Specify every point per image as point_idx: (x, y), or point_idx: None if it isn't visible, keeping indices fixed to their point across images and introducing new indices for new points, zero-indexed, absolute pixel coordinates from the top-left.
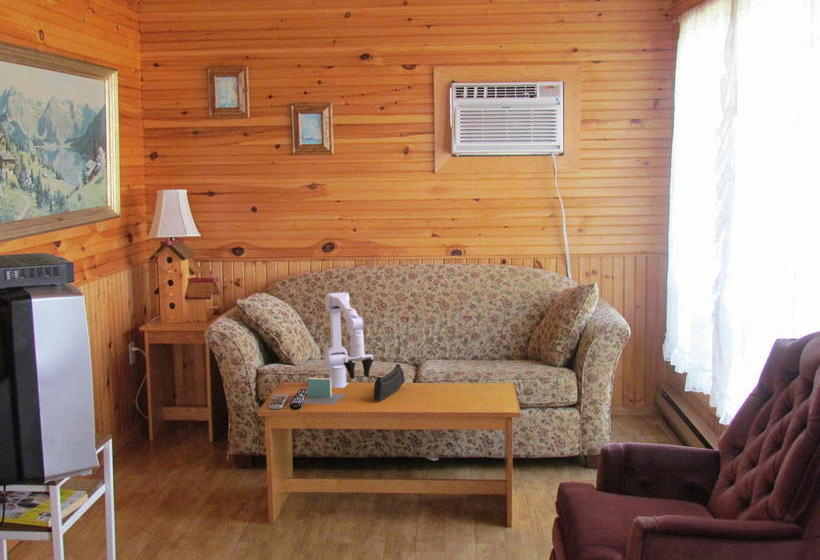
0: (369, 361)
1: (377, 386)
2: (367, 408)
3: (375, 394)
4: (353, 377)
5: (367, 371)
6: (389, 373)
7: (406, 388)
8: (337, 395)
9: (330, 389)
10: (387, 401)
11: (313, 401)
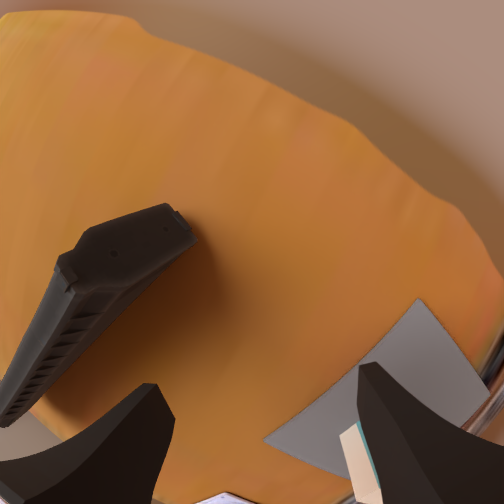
0: (26, 494)
1: (128, 249)
2: (301, 129)
3: (172, 239)
4: (376, 366)
5: (129, 421)
6: (13, 390)
7: None
8: (309, 438)
9: (364, 449)
10: (126, 213)
11: (444, 387)
